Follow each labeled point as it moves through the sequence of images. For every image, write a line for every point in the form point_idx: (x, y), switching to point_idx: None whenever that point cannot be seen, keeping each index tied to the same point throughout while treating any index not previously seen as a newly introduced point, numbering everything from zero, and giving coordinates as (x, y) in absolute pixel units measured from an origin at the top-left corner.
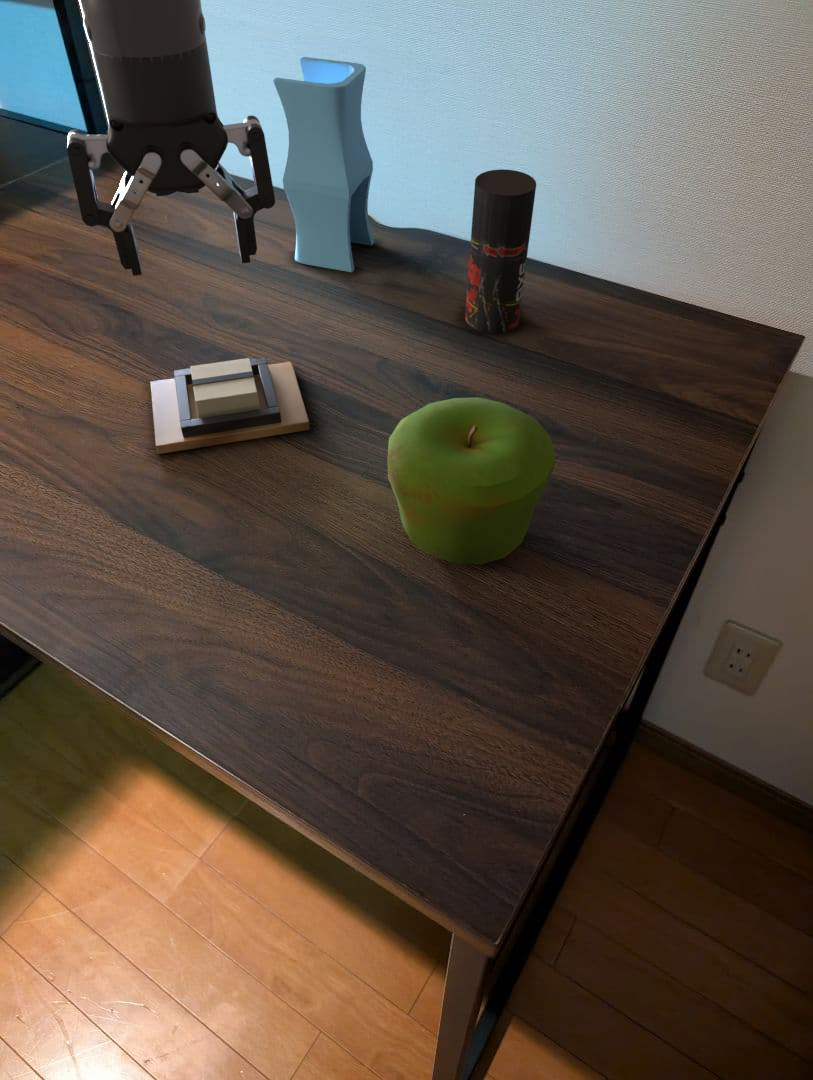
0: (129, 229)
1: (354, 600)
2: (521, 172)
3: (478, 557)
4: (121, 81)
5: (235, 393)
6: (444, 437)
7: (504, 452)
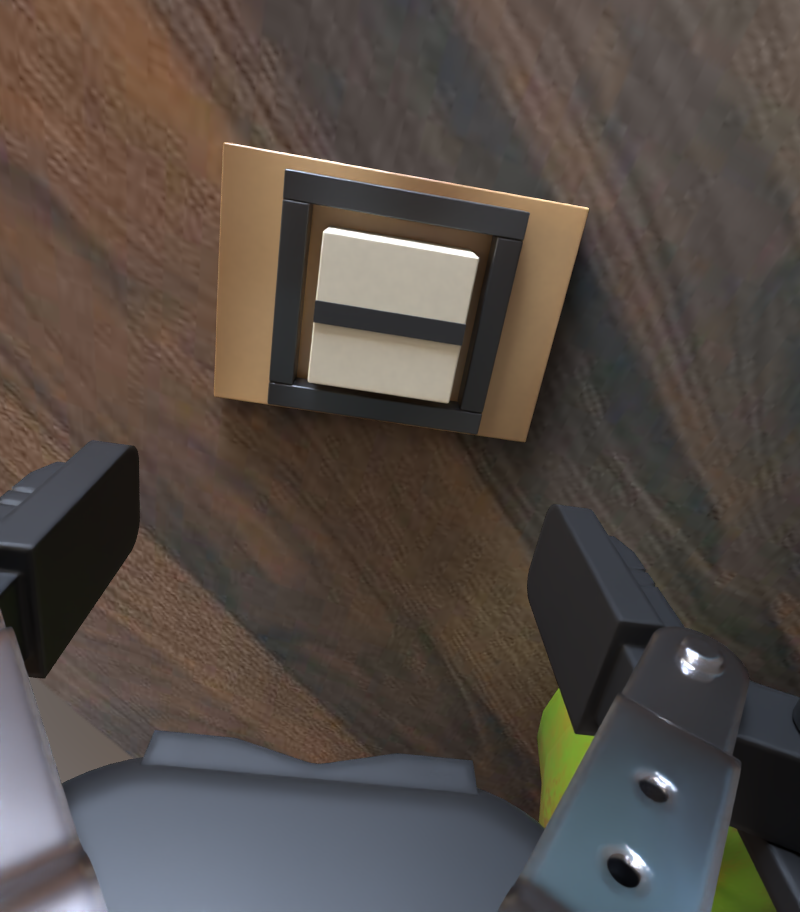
0: (30, 655)
1: (431, 744)
2: None
3: None
4: None
5: (401, 389)
6: None
7: None
